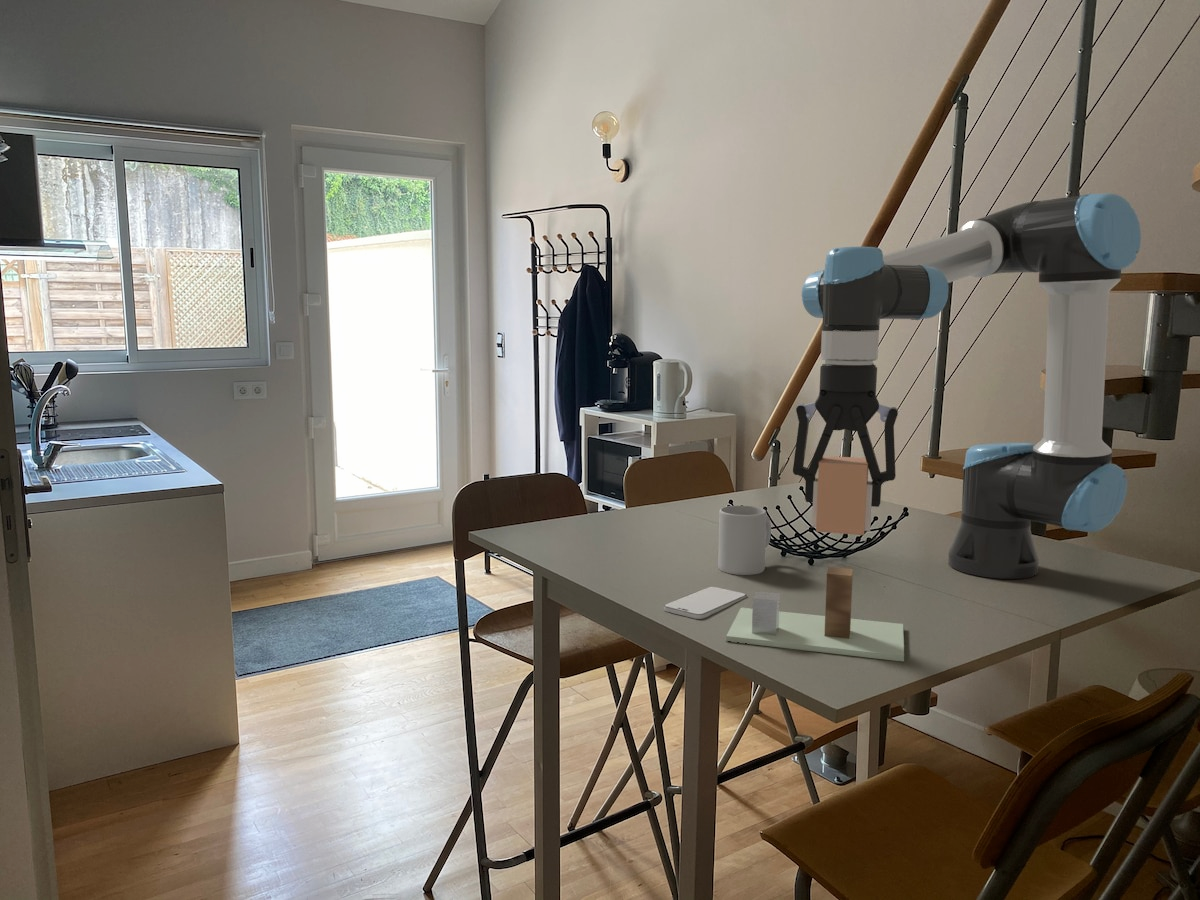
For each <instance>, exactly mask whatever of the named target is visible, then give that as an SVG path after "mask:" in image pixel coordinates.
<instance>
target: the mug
mask: <svg viewBox="0 0 1200 900" xmlns="http://www.w3.org/2000/svg"><path fill="white" fill-rule="evenodd" d="M718 513H719V516H718V517H719V518H718V519H719V520H718V555H717V556H718V557H717V561H718V562H717V567H718V569H719V570H720V571H721V572H722V573H725V574H730V575H735V576H736V575H737V576H753V575H754V576H755V575H758V574H762V573H764V571H765V570H766V548H768V546H769V545H770V541H771V534H772V524H771V519H770V517H769V516H768V515H767V511H766V509H764V508H762V507H757V506H753V505H728V506H723V507H721V508H720V509H719V512H718Z"/></svg>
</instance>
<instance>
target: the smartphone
mask: <svg viewBox="0 0 1200 900" xmlns="http://www.w3.org/2000/svg"><path fill="white" fill-rule="evenodd" d="M745 598H747V594H746V593H744V592H740V591H736V590H731V589H727V588H721V587H716V586H708V587H705V588H704V589H700V590H698V591H696V592H693V593H690V594H688V595H685V596H682V597H679V598H678V599H675V600H672V601H670V602H668V603H666V604H663V611H664V612H667V613H672V614H674V615H675V614H676V615H679V616H683V617H688V618H691V619H695V620H703V619H706V618H707V617H710V616H711V615H713V614H716V613H718V612H720V611H722V610H724V609H726V608H728V607H729V606H732V605H733V604H735V603H737V602H740V601H741V600H743V599H745Z"/></svg>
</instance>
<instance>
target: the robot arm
mask: <svg viewBox="0 0 1200 900" xmlns="http://www.w3.org/2000/svg"><path fill="white" fill-rule="evenodd" d="M1141 240H1142V232H1141V225H1140V221H1139V217H1138V214H1137V213H1136V211H1135V209H1134V207H1132V205H1131V204H1130V202H1129V201H1128V200H1127V199H1126V198H1124V197H1123V196H1122V195H1119V194H1116V193H1106V192H1105V193H1091V192H1090V193H1087V194H1080V195H1074V196H1073V195H1072V196H1069V197H1060V198H1059V197H1058V198H1052V199H1045V200H1033V201H1029V202H1023V203H1020V204H1017V205H1014V206H1011V207H1008V208H1006V209H1002V210H1000V211H997V212H994V213H990V214H989V215H986V216H983V217H980V218H978V219H974V220H970V221H968V222H967V223H965V224H963V225H962V226H961V227H960V228H959V230H958V231H956V232H953V233H949V234H946V235H943V236H940V237H938V238H933V239H931V240H927V241H924V242H921V243H918V244H914V245H912V246H908V247H905V248H902V249H898V250H895V251H892V252H889V253H886V254H885V253H883V250H882V249H880V248H879V247H876V246H841V247H835V248H832V249H830V250H829V251H828V252H827V254H826V257H825V263H824V270H817V271H814V272H812V273H811V274H810V275H809V276H808V277H807V278H806V279H805V281H804V283H803V285H802V289H801V301H802V304H803V305H802V306H803V307H804V309H805V310H806V312H807V313H808V314H809V315H811V317H813V318H817V319H822V329H821V339H820V340H821V341H820V343H821V345H820V359H822V360H824V363H822V364H821V366H820V370H819V371H820V372H819V373H820V374H819V393H818V395H817V396H818V397H816V400H815V402H809V403H806V404H804V403H800V404H798V405H797V406H796V409H795V410H796V411H795V412H796V415H797V419H798V428H797V435H796V441H795V444H796V445H795V452H794V458H793V466H792V467H793V468H792V473H793V475H795V476H799V477H802V478H803V479H804V481H805V487H804V489H805V491H804V499H805V502H806V503H812V513H811V514H812V516H811V517H812V519H811V527H812V528H816V519H817V495H818V477H816V474H817V472H818V471H819V461H821V460H822V458H823V456H825V452H826V451H827V448H828V445H829V443H830V440H831V438H832V435H833V433H834V431H842V430H843V431H844V430H846V431H847V430H848V431H850V432H857V435H858V438H859V441H860V445H861V448H862V451H863V455H864V458H866V462H867V463H868V472H869V474H870V477H871V480H872V481H871V480H868V481H867V492H866V512H865V532H871V523H872V507H875V508H878V507H880V505H881V497H882V485H883V484H884V483H886V482H889V481H891V482H892V481H894V480H895V479H896V456H895V455H896V453H895V452H896V451H895V448H896V447H895V424H896V420H897V418H898V416H899V415H898V413H899V411H898V408H897V407H895V406H892V407H891V406H887V405H883V404H881V403H880V402H879V400H878V398H877V378H878V377H877V375H878V367H877V365H876V364H875V363H874V362H875V361H877V360H878V356H879V355H878V354H879V343H880V342H879V339H880V323H881V322H880V321H881V320H911V321H913V320H916V321H919V320H924V319H926V320H927V319H932V318H934V317H936V316H937V315H938V314H940V313H941V312H942V310H944V308H945V306H946V304H947V301H948V299H949V288H950V287H949V284H951V283H952V282H955V281H958V280H961V279H964V278H967V277H969V276H971V277H974V278H986V277H988V276H991V275H996V274H1005V273H1006V274H1012V273H1038V285H1039V286H1040V287H1042V289H1044V290H1045V291H1046V292H1047V294H1048V303H1047V304H1048V305H1047V306H1048V307H1047V328H1046V329H1047V331H1046V333H1047V334H1046V356H1045V359H1046V360H1045V382H1044V383H1045V385H1044V406H1043V407H1044V409H1043V410H1044V411H1043V413H1044V414H1043V435H1042V438H1041V440H1040V441H1038V442H1037V443H1036V444H1035V443H1031V442H1002V443H987V444H986V443H984V444H983V443H982V444H976V445H973V446H971V447H969V448H968V449H967V450H966V452H965V459H964V465H963V467H962V471H963V474H962V475H963V476H962V477H963V478H962V492H961V493H962V496H961V497H962V499H961V515H960V524H959V527H958V528H957V531H956V534H955V536H954V539H953V542H952V543H951V545H950V549H949V551H948V559H947V560H948V565H949V566H950V567H951V568H953V569H955V570H957V571H959V572H962V573H964V574H969V575H974V576H976V577H977V576H978V577H984V578H991V579H992V578H993V579H1002V580H1004V579H1006V580H1008V579H1010V580H1012V579H1015V580H1016V579H1018V580H1019V579H1027V578H1028V579H1029V578H1031V577H1034V575H1035V576H1037V575H1038V573H1039V557H1038V553H1037V549H1036V546H1035V543H1034V538H1033V535H1032V531H1031V527H1032V526H1031V524H1032V523H1031V521H1032V522H1038V523H1041V524H1047V525H1049V526H1050V525H1052V526H1056V527H1059V528H1063V529H1065V530H1068V531H1080V532H1085V533H1094V532H1098V531H1101V530H1102V529H1105V528H1106V527H1108V526H1109V525H1110V524H1111V523H1112V522H1113V521H1114V519H1115V518H1116V517H1117V515H1118V514H1119V513H1120V511H1121V509H1122V507H1123V506H1124V502H1125V499H1126V496H1127V491H1128V480H1127V476H1126V474H1125V471H1124V469H1123V468H1122V467H1120V466H1118V465H1117V464H1116V463H1112V456H1113V455H1112V452H1113V450H1112V447H1110V446H1109V445H1108V444H1107V443H1106V442H1104V440H1103V423H1104V422H1103V420H1104V402H1105V381H1106V359H1107V343H1108V342H1107V341H1108V323H1109V302H1110V291H1111V290H1112V289H1113V288H1114V287H1115V286H1117V285H1118V284H1119V282H1121V280H1122V270H1124V269H1126V268H1128V267H1130V265H1132V264H1133V263H1134V262H1135V260H1136V258H1137V254H1138V253H1139V251H1140V248H1141V242H1142V241H1141ZM815 411H817V412H818V413H819V415H820V417H821V418H822V420H823V421H824V423H825V425H824V427H823V431H822V433H821V436H820V438H819V441H818V443H817V447H816V448H815V450H814V451H815V452H814V453H813V456H812V458H811V461H810V464H809V467H806V466H804V464H805V458H806V448H807V441H808V433H809V425H810V420H811V419H813V416H814V412H815ZM876 413H879V414H880V415H879V416H880V417H879V418H880V421H881V422H883V423H884V450H885V451H884V452H885V455H884V456H885V470H884V471H881V470H880V466H879V464H878V461H877V457H876V452H875V449H874V447H873V443H872V440H871V437H870V433H869V429H868V427H867V424H868V423H869V421H870V420H871V419H872V418H873V417H874V415H875V414H876Z"/></svg>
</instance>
